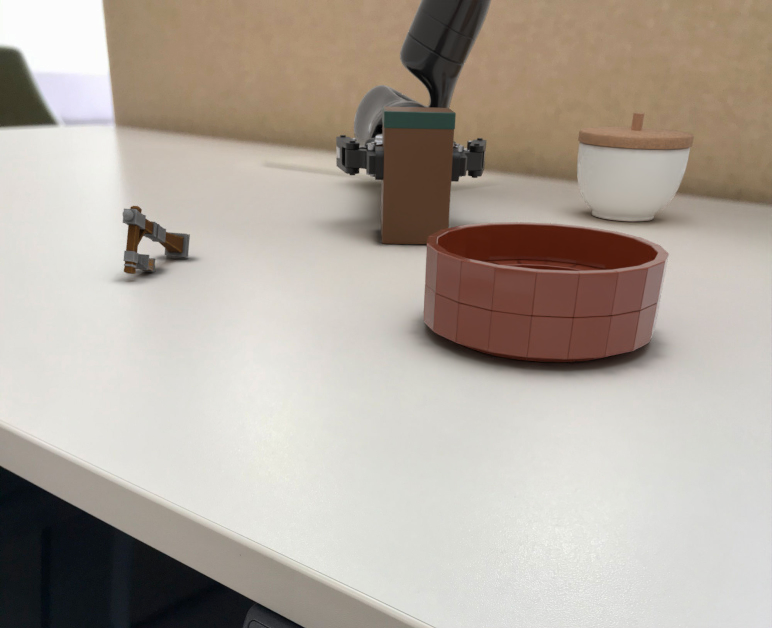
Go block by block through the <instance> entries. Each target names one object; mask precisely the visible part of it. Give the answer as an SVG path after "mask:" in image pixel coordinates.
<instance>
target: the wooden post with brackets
mask: <svg viewBox="0 0 772 628" xmlns="http://www.w3.org/2000/svg"><path fill="white" fill-rule="evenodd" d="M142 211H143V209H142V208H141V207H140V206H138V205H132V206H130V207H129V208H123V211H122V223H123V224H126V225H127V228H128V229H127V237H126V246H125V250H123V259H122V260H123V262H124V263H123V273H126V274H129V275H130V274H131V275H136V274H137V271H136V270H141V272H147V273H148V272H150V273H155V271H156V270H155V269H156V258H151V257H150V254H145V253H144V254H142V253H138V247H139V244H140V243H141V241H142V239H143V237H144V238H147V239H149V240H151V241H152V242H154V243H159V244H160V245H161V246H162V247H163V248H164V256H165V257H166V258H175V259H176V258H177V259H189V253H190V252H189V250H190V238H191V233H190V234H189V233H185V232H169V231H167V228H164V227H163V226H161V225H160V224H159V223H158V222H156V221H150V220H149V219H147V215H146V214H143V213H142Z"/></svg>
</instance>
